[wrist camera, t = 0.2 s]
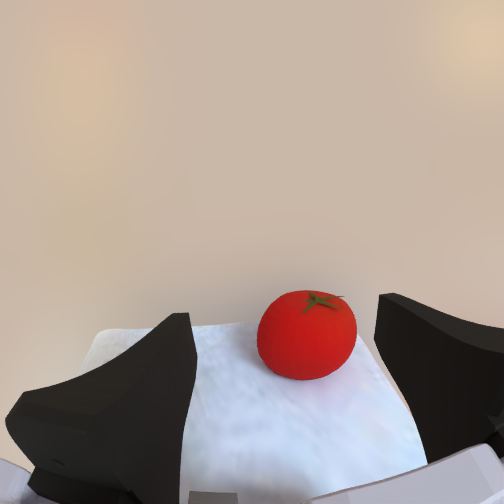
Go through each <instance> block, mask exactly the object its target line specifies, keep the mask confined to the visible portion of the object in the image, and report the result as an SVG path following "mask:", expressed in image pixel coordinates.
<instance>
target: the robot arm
mask: <svg viewBox="0 0 504 504" xmlns="http://www.w3.org/2000/svg"><path fill="white" fill-rule="evenodd" d="M374 341H375V344H376V346H377V349H378V351H379V353H380V356H381V358H382V360H383V362H384V364H385V365H386V367H387V369H388V371H389V372H390V374H391V376H392V377H393V379H394V381H395V382H396V384H397V386H398V388H399V389H400V391H401V392H402V394H403V396H404V398H405V400H406V402H407V404H408V406H409V408H410V410H411V413H412V416H413V418H414V421H415V423H416V426H417V429H418V432H419V435H420V438H421V441H422V444H423V448H424V451H425V455H426V459H427V463H428V465H425V466H422V467H420V468H417V469H414V470H411V471H408V472H405V473H402V474H399V475H396V476H393V477H390V478H386V479H383V480H379V481H376V482H372V483H368V484H364V485H360V486H356V487H352V488H347V489H343V490H340V491H336V492H333V493H329V494H326V495H322V496H318V497H314V498H312V499H310V500H308V501H306V502H303V503H301V504H504V329H503V328H496V327H491V326H486V325H481V324H477V323H473V322H470V321H466V320H462V319H459V318H456V317H454V316H451V315H448V314H445V313H443V312H440V311H438V310H435V309H433V308H431V307H428V306H426V305H424V304H421V303H419V302H416V301H414V300H412V299H410V298H407V297H405V296H402V295H399V294H396V293H389V294H381V295H379V303H378V310H377V320H376V327H375V334H374ZM197 358H198V357H197V352H196V347H195V342H194V338H193V333H192V328H191V323H190V317H189V313H173V314H171V315H170V316H168V317H167V318H166V319H165V320H164V321H162V322H161V323H160V324H159V325H158V326H157V327H155V328H154V329H153V330H152V331H151V332H149V333H148V334H147V335H146V336H145V337H143V338H142V339H141V340H139V341H138V342H137V343H135V344H134V345H133V346H131V347H130V348H129V349H127V350H126V351H125V352H123V353H122V354H120V355H119V356H117V357H116V358H114V359H112V360H111V361H109V362H107V363H105V364H104V365H102V366H100V367H98V368H96V369H94V370H92V371H89V372H87V373H85V374H83V375H81V376H78V377H76V378H73V379H71V380H68V381H65V382H62V383H59V384H56V385H52V386H49V387H45V388H40V389H36V390H31V391H26V392H23V393H22V395H21V397H20V398H19V399H18V401H17V402H16V403H15V405H14V407H13V408H12V409H11V411H10V412H9V414H8V415H7V417H6V418H5V423H6V427H7V430H8V432H9V434H10V436H11V437H12V439H13V440H14V442H15V443H16V444H17V445H18V447H19V448H20V449H21V450H22V452H23V453H24V454H25V455H26V456H27V458H28V459H29V460H30V461H31V462H32V463H33V465H34V466H35V469H34V471H33V473H32V474H31V473H30V472H29V471H27V470H26V469H24V468H22V467H20V466H18V465H15V464H13V463H11V462H9V461H6V460H5V459H1V458H0V504H179V486H180V464H181V451H182V440H183V432H184V426H185V421H186V417H187V413H188V409H189V405H190V400H191V396H192V392H193V388H194V383H195V379H196V370H197Z"/></svg>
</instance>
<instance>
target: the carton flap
mask: <svg viewBox="0 0 504 504" xmlns="http://www.w3.org/2000/svg"><path fill="white" fill-rule="evenodd" d="M188 504H238V498H237V493H213V492H196V491H190V493H189V500H188Z"/></svg>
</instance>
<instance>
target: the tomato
mask: <svg viewBox="0 0 504 504" xmlns="http://www.w3.org/2000/svg"><path fill="white" fill-rule="evenodd" d="M339 297H340V296H335V295H332V294H328V293H324V292H318V291H307V290H305V291H295V292H290V293H286V294H284V295H282V296H280V297H279V298H278V299H277V300H275V301H274V302H273V303H272V304H271V305H270V306H269V307H268V309H267V310H266V312H265V313H264V315H263V316H262V319H261V321H260V324H259V327H258V332H257V347H258V352H259V355H260V357H261V358H262V360H263V361H264V363H265V364H266V365H267V366H268V367H269V368H270V369H271V370H272V371H274V372H275V373H277V374H279V375H282V376H285V377H288V378H291V379H296V380H312V379H318V378H321V377H324V376H327V375H329V374H330V373H332V372H334V371H335V370H337V369H338V368H339V367H341V366H342V365H343V364H344V363H345V362H346V361H347V359H348V358H349V356H350V355H351V353H352V351H353V348H354V346H355V342H356V337H357V326H356V320H355V317H354V314H353V312H352V310H351V309H350V307H349V306H348V304H347V303H346V302H345V301H343V300H342V299H340V298H339Z"/></svg>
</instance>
